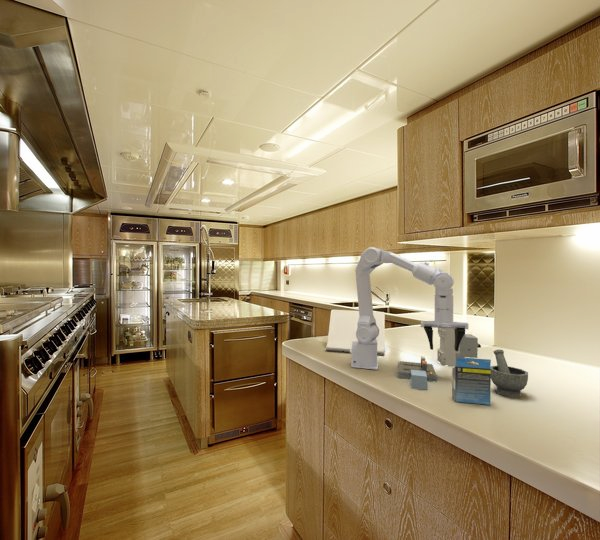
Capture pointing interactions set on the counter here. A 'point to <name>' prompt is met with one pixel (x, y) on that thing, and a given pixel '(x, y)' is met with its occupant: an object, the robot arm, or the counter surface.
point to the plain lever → (422, 359)
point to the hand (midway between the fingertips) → (443, 349)
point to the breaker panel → (406, 368)
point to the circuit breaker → (447, 347)
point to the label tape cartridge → (471, 381)
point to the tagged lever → (424, 365)
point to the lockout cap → (418, 379)
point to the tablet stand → (351, 330)
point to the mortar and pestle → (507, 377)
